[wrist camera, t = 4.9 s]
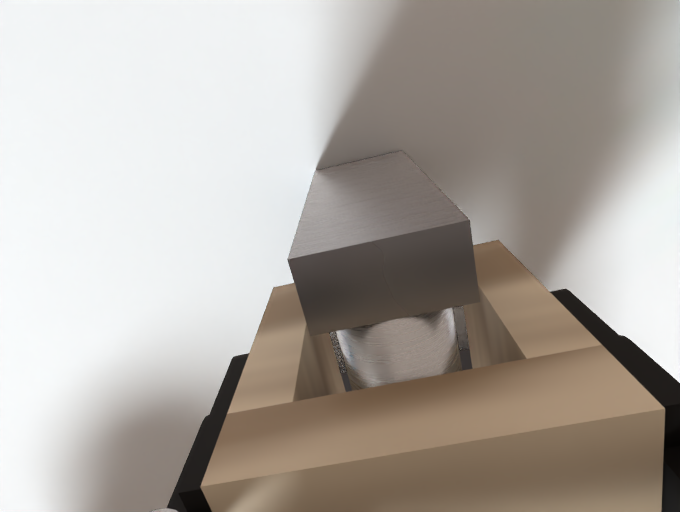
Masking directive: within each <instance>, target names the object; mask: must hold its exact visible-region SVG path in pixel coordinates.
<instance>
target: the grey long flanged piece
mask: <svg viewBox="0 0 680 512" xmlns="http://www.w3.org/2000/svg"><path fill="white" fill-rule="evenodd" d="M288 263H289V266H290V269H291V273H292V276H293V279H294V283H295V286H296V290H297V293H298V296H299V300H300V303H301V306H302V310H303V313H304V317H305V320H306V323H307V327H308V330H309V333H310V336H315V335H320V334H324V333H329V332H334V331H336V333H337V337H338V341H339V344H340V348H341V352H342V355H343V359H344V363H345V367H346V370H347V374H348V378H349V381H350V385H351V389H352V391H354V390H360V389H365V388H371V387H376V386H381V385H387V384H392V383H398V382H403V381H409V380H414V379H420V378H425V377H430V376H436V375H441V374H447V373H452V372H458V371H462V366H461V359H460V353H459V346H458V340H457V334H456V327H455V321H454V314H453V308H454V307H459V306H463V305H468V304H473V303H478V302H480V296H479V289H478V281H477V273H476V266H475V258H474V250H473V243H472V235H471V227H470V220H469V219H468V218H467V217H466V216H465V215H464V214H463V213H462V212H461V211H460V210H459V209H458V207H457V206H456V205H455V204H454V203H453V202H452V201H451V200H450V199H449V198H448V197H447V196H446V195H445V194H444V193H443V192H442V191H441V190H440V189H439V188H438V187H437V186H436V185H435V184H434V183H433V182H432V181H431V180H430V179H429V178H428V177H427V176H426V175H425V173H424V172H423V171H422V170H421V169H420V168H419V167H418V166H417V165H416V164H415V163H414V162H413V161H412V160H411V159H410V158H409V157H408V156H407V155H406V154H405V153H404V152H403V151H402V150H401V151H397V152H393V153H389V154H384V155H380V156H376V157H371V158H367V159H363V160H359V161H354V162H350V163H346V164H342V165H337V166H333V167H329V168H324V169H320V170H316V171H315V172H314V176H313V179H312V182H311V185H310V189H309V192H308V195H307V198H306V202H305V205H304V208H303V211H302V214H301V218H300V221H299V224H298V227H297V231H296V234H295V237H294V240H293V244H292V247H291V250H290V253H289V257H288Z"/></svg>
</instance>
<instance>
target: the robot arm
mask: <svg viewBox="0 0 680 512" xmlns="http://www.w3.org/2000/svg"><path fill="white" fill-rule="evenodd" d="M550 293H551V294H552V295H553V296H554V297H555V298H556V299H557V300H558V301H559V302H560V303H561V304H562V305H563V306H564V307H565V308H566V309H567V310H568V311H569V312H570V313H571V314H572V315H573V316H574V317H575V318H576V319H577V320H578V321H579V322H580V323H581V324H582V325H583V326H584V327H585V328H586V329H587V330H588V331H589V332H590V333H591V334H592V335H593V336H594V337H595V338H596V339H597V340H598V341H599V342H600V343H601V344H602V345H603V346H604V347H605V348H606V349H607V350H608V351H609V352H610V353H611V354H612V355H613V356H614V357H615V358H616V359H617V360H618V361H619V362H620V363H621V364H622V365H623V366H624V367H625V368H626V369H627V370H628V372H629V373H630V374H631V375H632V376H633V377H634V378H635V379H636V380H637V381H638V382H639V383H640V384H641V385H642V386H643V387H644V388H645V389H646V390H647V391H648V392H649V393H650V394H651V395H652V396H653V397H654V398H655V399H656V400H657V401H658V402H659V403H660V404H661V405H662V406H663V407H664V408H665V427H664V455H663V482H662V510H661V512H680V383H679V382H678V381H677V380H676V379H674V378H673V377H672V376H671V375H670V374H669V373H668V372H666V371H665V370H664V369H663V368H662V367H661V366H660V365H658V364H657V363H656V362H655V361H654V360H653V359H652V358H650V357H649V356H648V355H647V354H646V353H645V352H644V351H642V350H641V349H640V348H639V347H638V346H637V345H636V344H634V343H633V342H632V341H631V340H630V339H628V338H627V337H625V336H621V335H618V334H617V333H616V332H615V331H614V330H612V329H611V328H610V327H609V326H608V325H607V324H606V323H605V322H604V321H602V320H601V319H600V318H599V317H598V316H597V315H596V314H595V313H593V312H592V311H591V310H590V309H589V308H588V307H587V306H586V305H585V304H583V303H582V302H581V301H580V300H579V299H578V298H577V297H576V296H574V295H573V294H572V293H571V292H570V291H569V290H567V289H562V290H557V291H552V292H550ZM248 356H249V354H244V355H239V356H234V357H233V358H232V360H231V363H230V365H229V368H228V370H227V373H226V375H225V378H224V380H223V383H222V385H221V388H220V390H219V393H218V395H217V398H216V400H215V403H214V405H213V407H212V410H211V412H210V415H208V416H206V417H205V419H204V420H203V422H202V424H201V427H200V429H199V432H198V434H197V436H196V439H195V441H194V444H193V446H192V448H191V451H190V453H189V456H188V458H187V460H186V463H185V465H184V468H183V470H182V473H181V475H180V477H179V480H178V482H177V485H176V487H175V489H174V492H173V494H172V497H171V499H170V501H169V504H168V506H167V508H164V509H156V510H154V511H151V512H212V510H211V508H210V506H209V504H208V502H207V500H206V498H205V496H204V493H203V491H202V489H201V487H200V486H201V483H202V481H203V478H204V475H205V473H206V470H207V467H208V464H209V462H210V459H211V456H212V454H213V451H214V448H215V445H216V443H217V440H218V437H219V434H220V432H221V429H222V426H223V424H224V421H225V418H226V415H227V413H228V410H229V407H230V405H231V402H232V399H233V396H234V394H235V391H236V388H237V386H238V383H239V380H240V377H241V375H242V372H243V369H244V366H245V364H246V361H247V358H248Z"/></svg>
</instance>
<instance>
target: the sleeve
mask: <svg viewBox="0 0 680 512" xmlns="http://www.w3.org/2000/svg"><path fill="white" fill-rule="evenodd" d="M473 250H474V258H475V266H476V273H477V281H478V289H479V296H480V302H478V303H473V304H468V305H463V309H464V315H465V322H466V329H467V335H468V342H469V348H470V355H471V361H472V368H473V369H468V370H463V371H458V372H452V373H447V374H441V375H436V376H430V377H425V378H420V379H414V380H409V381H403V382H398V383H392V384H387V385H381V386H376V387H371V388H365V389H360V390H354V391H349V392H346V391H345V387H344V384H343V380H342V377H341V373H340V369H339V366H338V362H337V359H336V355H335V352H334V348H333V345H332V341H331V338H330V334H329V333H324V334H320V335H315V336H310V333H309V330H308V327H307V323H306V320H305V317H304V313H303V310H302V306H301V303H300V300H299V296H298V293H297V290H296V286H295V283H292V284H288V285H283V286H278V287H274V288H273V290H272V293H271V296H270V298H269V301H268V304H267V307H266V309H265V312H264V315H263V318H262V320H261V323H260V326H259V328H258V331H257V334H256V337H255V339H254V342H253V345H252V347H251V350H250V353H249V356H248V358H247V361H246V364H245V366H244V369H243V372H242V375H241V377H240V380H239V383H238V386H237V388H236V391H235V394H234V396H233V399H232V402H231V405H230V407H229V410H228V413H227V415H226V418H225V421H224V424H223V426H222V429H221V432H220V434H219V437H218V440H217V443H216V445H215V448H214V451H213V454H212V456H211V459H210V462H209V464H208V467H207V470H206V473H205V475H204V478H203V481H202V483H201V486H200V487H201V489H202V491H203V493H204V496H205V498H206V500H207V502H208V504H209V506H210V508H211V510H212V512H661V510H662V482H663V455H664V427H665V408H664V407H663V406H662V405H661V404H660V403H659V402H658V401H657V400H656V399H655V398H654V397H653V396H652V395H651V394H650V393H649V392H648V391H647V390H646V389H645V388H644V387H643V386H642V385H641V384H640V383H639V382H638V381H637V380H636V379H635V378H634V377H633V376H632V375H631V374H630V373H629V372H628V370H627V369H626V368H625V367H624V366H623V365H622V364H621V363H620V362H619V361H618V360H617V359H616V358H615V357H614V356H613V355H612V354H611V353H610V352H609V351H608V350H607V349H606V348H605V347H604V346H603V345H602V344H601V343H600V342H599V341H598V340H597V339H596V338H595V337H594V336H593V335H592V334H591V333H590V332H589V331H588V330H587V329H586V328H585V327H584V326H583V325H582V324H581V323H580V322H579V321H578V320H577V319H576V318H575V317H574V316H573V315H572V314H571V313H570V312H569V311H568V310H567V309H566V308H565V307H564V306H563V305H562V304H561V303H560V302H559V301H558V300H557V299H556V298H555V297H554V296H553V295H552V294H551V293H550V292H549V291H548V290H547V289H546V288H545V287H544V286H543V285H542V284H541V283H540V282H539V281H538V280H537V279H536V278H535V277H534V276H533V275H532V273H531V272H530V271H529V270H528V269H527V268H526V267H525V266H524V265H523V264H522V263H521V262H520V261H519V260H518V259H517V258H516V257H515V256H514V255H513V254H512V253H511V252H510V251H509V250H508V249H507V248H506V247H505V246H504V245H503V244H502V243H501V242H500V241H499V240H496V241H491V242H486V243H482V244H477V245H473Z"/></svg>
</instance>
